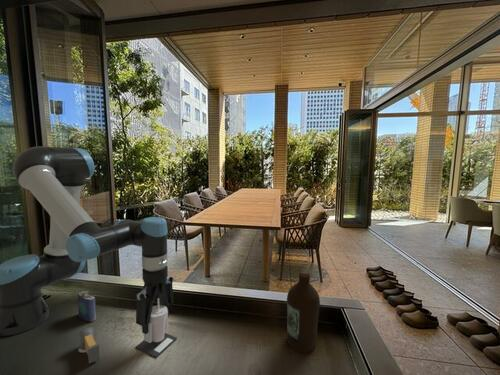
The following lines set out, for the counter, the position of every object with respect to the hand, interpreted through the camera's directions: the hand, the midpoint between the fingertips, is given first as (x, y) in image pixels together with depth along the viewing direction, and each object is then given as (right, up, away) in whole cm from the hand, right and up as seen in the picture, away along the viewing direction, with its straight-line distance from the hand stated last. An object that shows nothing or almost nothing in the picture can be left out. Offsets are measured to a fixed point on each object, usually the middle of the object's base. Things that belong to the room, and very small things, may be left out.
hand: (156, 333), depth 81 cm
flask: (-31, -2, +13) cm, 34 cm away
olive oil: (+48, -4, +2) cm, 48 cm away
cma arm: (-19, -3, -4) cm, 20 cm away
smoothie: (+1, -2, 0) cm, 2 cm away
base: (-21, -3, -2) cm, 22 cm away
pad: (0, -3, 0) cm, 3 cm away
